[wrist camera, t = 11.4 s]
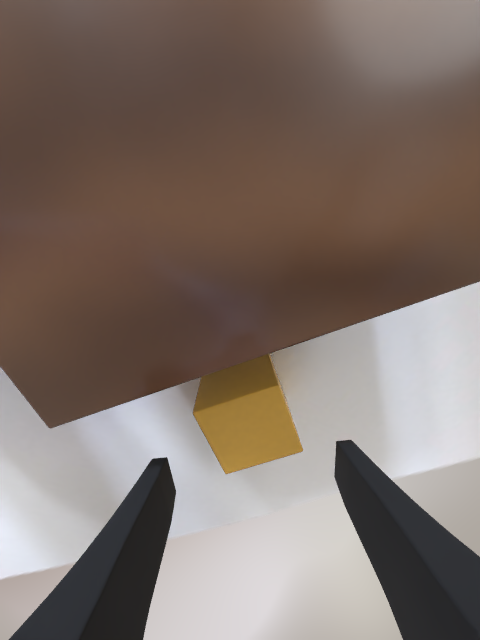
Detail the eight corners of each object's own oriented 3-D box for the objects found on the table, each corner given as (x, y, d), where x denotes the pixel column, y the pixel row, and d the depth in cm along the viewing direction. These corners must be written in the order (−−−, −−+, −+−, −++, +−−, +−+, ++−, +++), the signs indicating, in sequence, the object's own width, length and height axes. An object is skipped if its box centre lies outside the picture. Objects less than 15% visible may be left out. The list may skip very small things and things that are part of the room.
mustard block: (227, 416, 16) (225, 475, 12) (203, 366, 15) (191, 413, 11) (285, 397, 16) (303, 451, 12) (265, 344, 15) (278, 384, 10)
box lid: (482, 268, 7) (513, 270, 6) (66, 412, 8) (48, 429, 7) (452, -547, 3) (519, -790, 2) (-286, -64, 4) (-394, -128, 4)
